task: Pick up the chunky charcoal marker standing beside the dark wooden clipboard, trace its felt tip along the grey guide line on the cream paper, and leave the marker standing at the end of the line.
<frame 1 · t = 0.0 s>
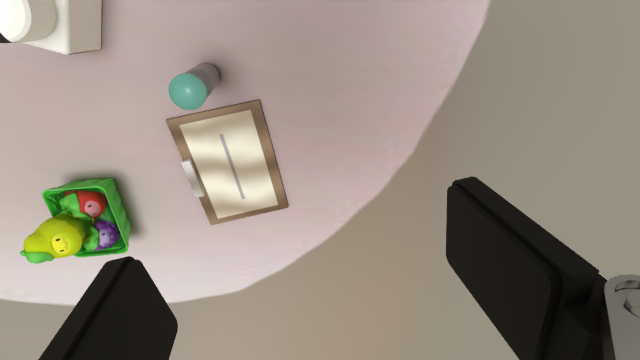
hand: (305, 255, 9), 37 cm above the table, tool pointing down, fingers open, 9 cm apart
clipboard: (233, 166, 47), on the table
marker: (209, 74, 41), on the table
fruit basket: (101, 204, 47), on the table
white handled container: (68, 8, 35), on the table
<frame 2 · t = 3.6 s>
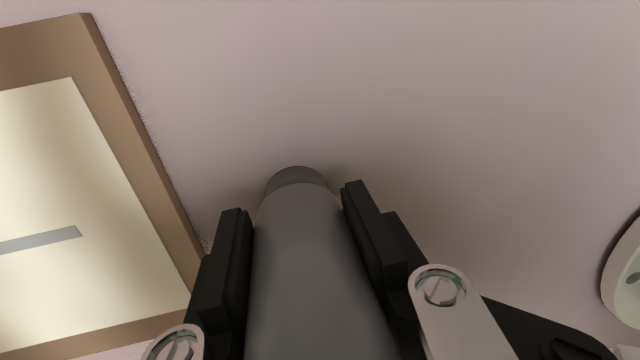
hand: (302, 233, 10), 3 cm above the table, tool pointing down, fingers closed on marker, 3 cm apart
marker: (296, 195, 13), on the table, touching gripper
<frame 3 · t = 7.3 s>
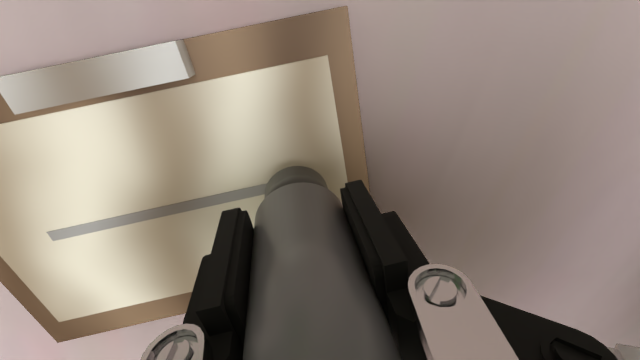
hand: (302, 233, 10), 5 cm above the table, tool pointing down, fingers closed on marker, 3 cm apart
clipboard: (177, 201, 14), on the table
marker: (296, 194, 13), point 2 cm above the table, touching gripper
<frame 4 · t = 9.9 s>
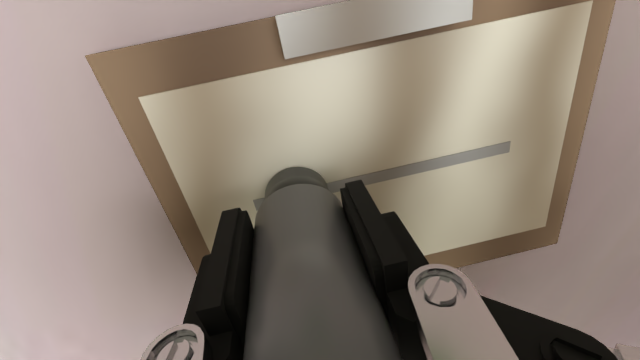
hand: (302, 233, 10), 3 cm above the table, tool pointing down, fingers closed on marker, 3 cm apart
clipboard: (378, 168, 13), on the table
marker: (297, 195, 12), point 1 cm above the table, touching gripper
when the fingers open (3 cm above the table, at t = 11.5 s): marker stays where it is, resting on clipboard.
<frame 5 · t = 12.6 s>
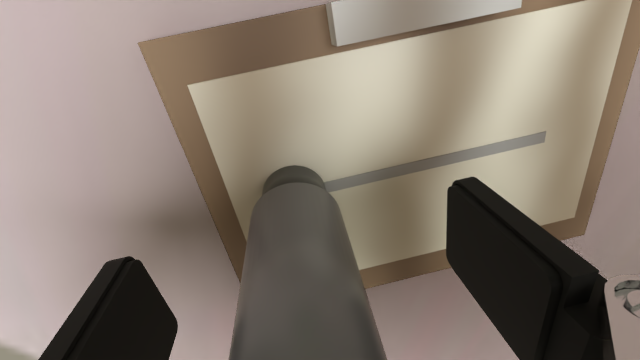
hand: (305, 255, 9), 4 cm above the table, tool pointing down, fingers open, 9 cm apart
clipboard: (414, 158, 13), on the table
marker: (294, 194, 13), point 1 cm above the table, touching clipboard
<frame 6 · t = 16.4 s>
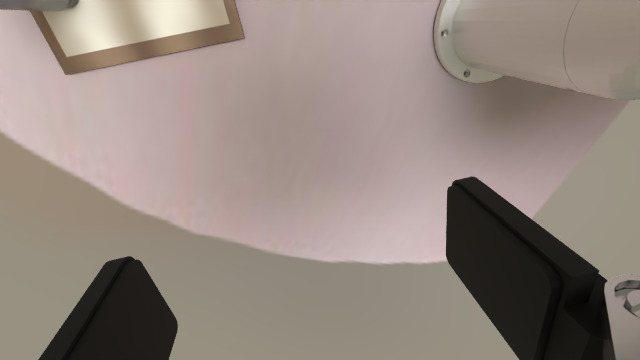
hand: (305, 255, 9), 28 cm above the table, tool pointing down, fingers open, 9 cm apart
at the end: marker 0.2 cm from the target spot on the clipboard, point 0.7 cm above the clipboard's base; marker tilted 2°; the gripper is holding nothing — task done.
